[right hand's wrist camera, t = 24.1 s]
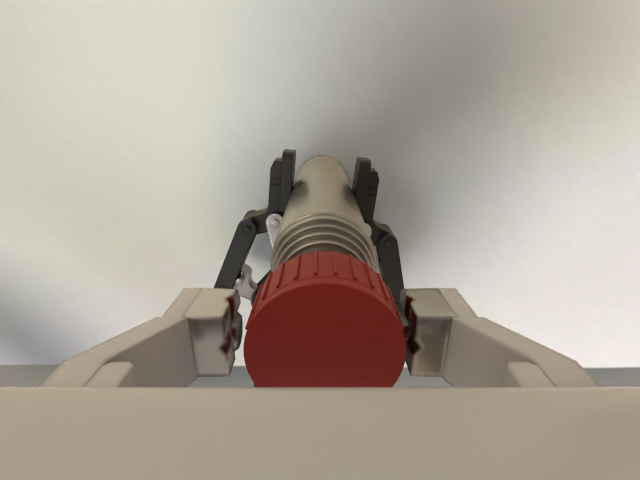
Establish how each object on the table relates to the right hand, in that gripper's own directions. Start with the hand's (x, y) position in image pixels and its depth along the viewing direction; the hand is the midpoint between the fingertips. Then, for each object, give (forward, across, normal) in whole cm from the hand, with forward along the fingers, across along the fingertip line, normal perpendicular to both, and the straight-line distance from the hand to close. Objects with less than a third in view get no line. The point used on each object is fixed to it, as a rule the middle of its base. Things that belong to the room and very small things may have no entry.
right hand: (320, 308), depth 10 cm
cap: (-2, 0, 0) cm, 2 cm away
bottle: (+20, 0, 0) cm, 20 cm away
